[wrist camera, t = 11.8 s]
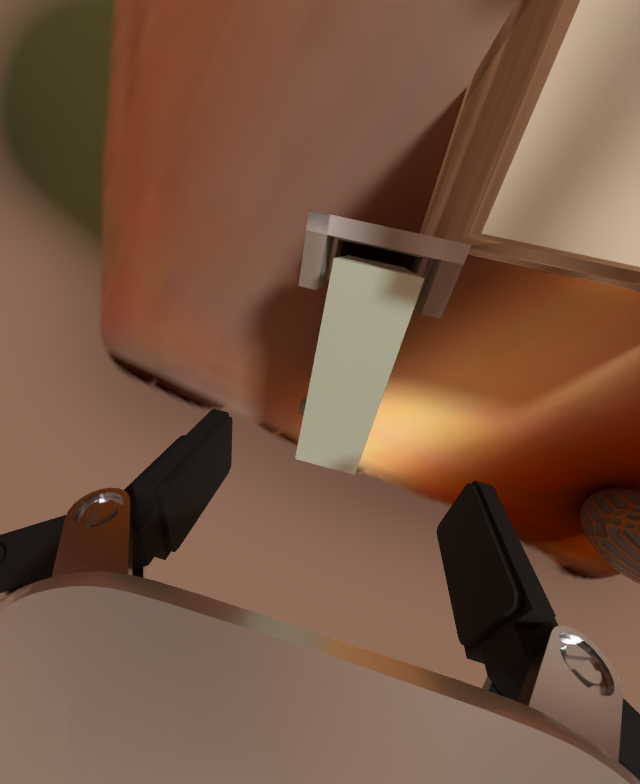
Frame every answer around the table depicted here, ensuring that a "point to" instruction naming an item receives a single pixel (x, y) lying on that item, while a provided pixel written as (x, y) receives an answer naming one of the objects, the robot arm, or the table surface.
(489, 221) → the cabinet
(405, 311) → the pale white box
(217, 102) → the table surface
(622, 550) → the vase
